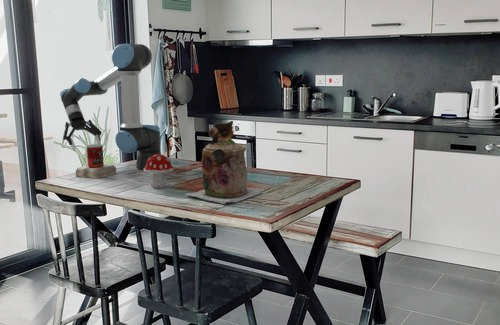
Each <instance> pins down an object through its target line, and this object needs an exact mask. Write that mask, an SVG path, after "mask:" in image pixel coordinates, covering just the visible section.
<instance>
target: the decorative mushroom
mask: <svg viewBox="0 0 500 325" xmlns="http://www.w3.org/2000/svg"><path fill="white" fill-rule="evenodd" d="M174 170H175V167H174V166H173V165H172V162H171V160H170V159H169V158H168V157H167V156H166V155H164V154H162V153H161V154H156V155H153V156H151V157H150V158H149V159H148V160H147V163H146V166H145V168H144V170H143V171H144V173H147V174H152V177H151V179H150V186H151V187H152V188H153V189H164V188H167V187H168V185H169V180H168V178H167V176H166V173H171V172H173V171H174Z"/></svg>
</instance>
